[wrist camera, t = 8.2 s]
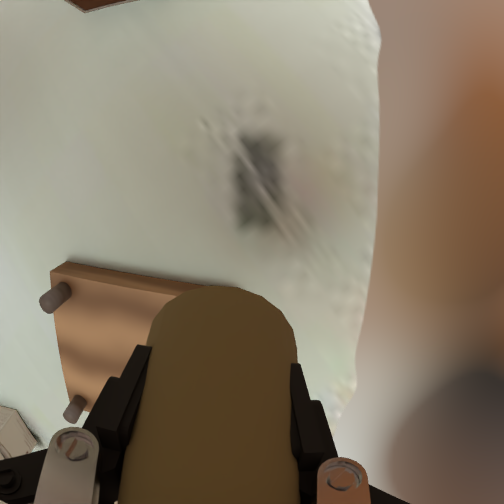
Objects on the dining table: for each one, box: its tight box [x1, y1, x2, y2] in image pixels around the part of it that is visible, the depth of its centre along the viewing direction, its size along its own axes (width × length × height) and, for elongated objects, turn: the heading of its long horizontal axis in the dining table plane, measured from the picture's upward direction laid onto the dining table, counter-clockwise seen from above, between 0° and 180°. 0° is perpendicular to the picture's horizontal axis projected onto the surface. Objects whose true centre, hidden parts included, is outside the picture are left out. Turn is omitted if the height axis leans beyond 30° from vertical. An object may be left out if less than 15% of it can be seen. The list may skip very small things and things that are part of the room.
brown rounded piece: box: [117, 285, 301, 504], centre depth 7 cm, size 6×6×11 cm
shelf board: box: [39, 262, 207, 424], centre depth 25 cm, size 16×16×6 cm
